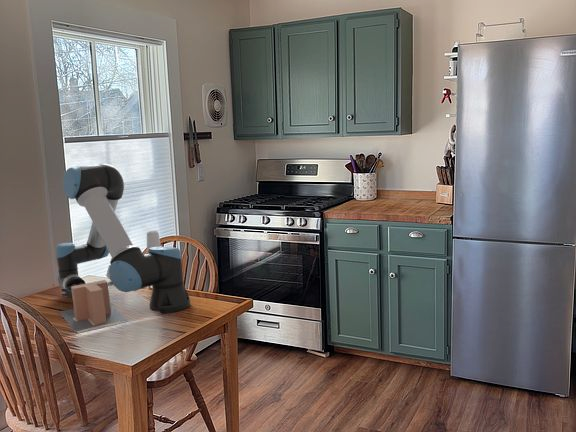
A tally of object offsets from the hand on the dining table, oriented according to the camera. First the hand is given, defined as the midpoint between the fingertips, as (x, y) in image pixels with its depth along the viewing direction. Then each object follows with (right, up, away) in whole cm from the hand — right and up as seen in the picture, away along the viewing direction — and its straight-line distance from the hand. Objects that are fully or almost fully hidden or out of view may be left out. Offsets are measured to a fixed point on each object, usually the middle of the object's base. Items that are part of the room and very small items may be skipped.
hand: (88, 298), depth 213 cm
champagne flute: (+17, 0, +38) cm, 41 cm away
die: (-4, 0, +51) cm, 51 cm away
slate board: (+2, -7, -1) cm, 7 cm away
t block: (+5, -7, -6) cm, 10 cm away
